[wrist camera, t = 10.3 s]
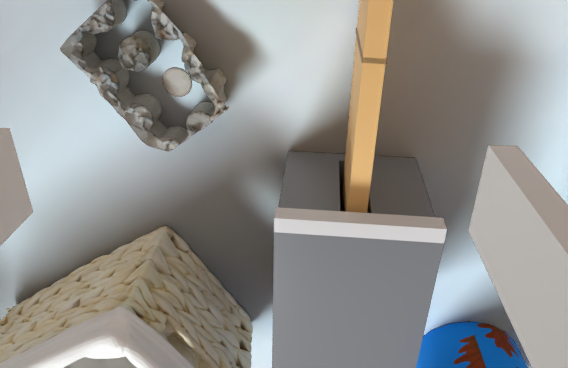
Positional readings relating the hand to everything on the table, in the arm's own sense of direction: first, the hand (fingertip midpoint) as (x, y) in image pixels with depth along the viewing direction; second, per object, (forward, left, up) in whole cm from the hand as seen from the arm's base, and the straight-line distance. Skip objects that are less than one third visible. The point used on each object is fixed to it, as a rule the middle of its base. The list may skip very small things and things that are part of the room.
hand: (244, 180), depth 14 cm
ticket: (+5, -2, -21) cm, 22 cm away
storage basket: (-15, -30, -24) cm, 41 cm away
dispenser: (+5, -17, -23) cm, 29 cm away
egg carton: (-10, -4, -24) cm, 26 cm away
